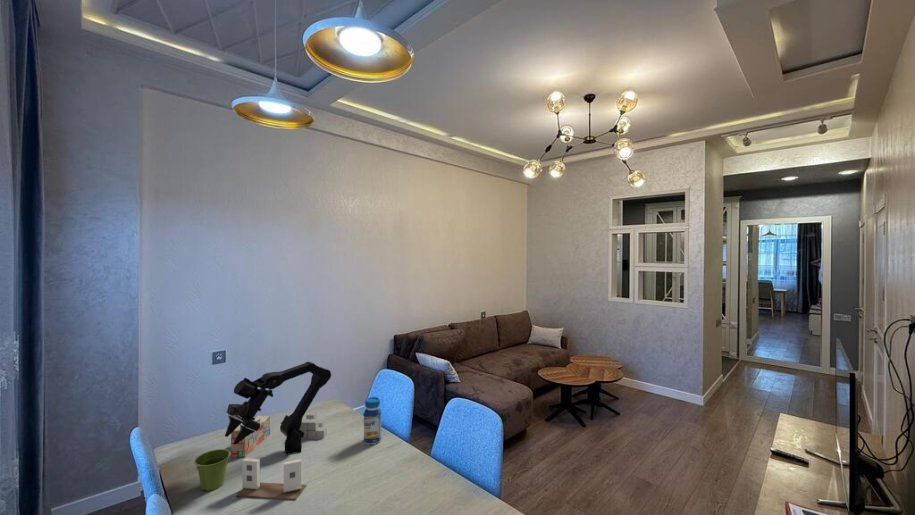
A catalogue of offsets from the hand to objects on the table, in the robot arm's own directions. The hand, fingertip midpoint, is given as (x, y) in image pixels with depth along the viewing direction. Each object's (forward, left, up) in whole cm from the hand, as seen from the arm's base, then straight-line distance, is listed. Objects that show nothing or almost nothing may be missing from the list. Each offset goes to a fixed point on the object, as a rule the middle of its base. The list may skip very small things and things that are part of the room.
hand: (230, 440), depth 152 cm
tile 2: (-10, +13, -13) cm, 21 cm away
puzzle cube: (-32, -28, -15) cm, 45 cm away
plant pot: (+5, +4, -15) cm, 16 cm away
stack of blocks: (-4, -25, -15) cm, 29 cm away
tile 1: (-25, +19, -13) cm, 34 cm away
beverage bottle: (-58, -10, -15) cm, 60 cm away
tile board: (-17, +16, -15) cm, 28 cm away
